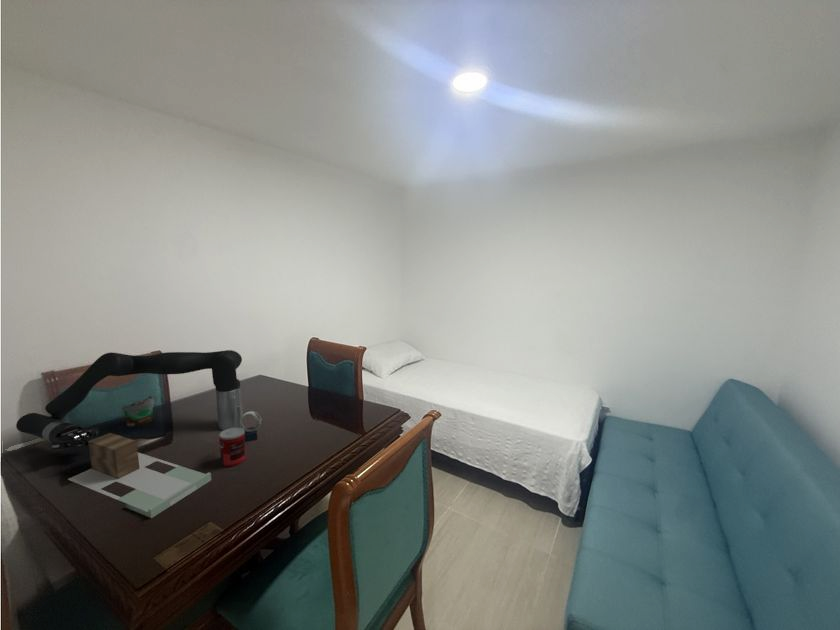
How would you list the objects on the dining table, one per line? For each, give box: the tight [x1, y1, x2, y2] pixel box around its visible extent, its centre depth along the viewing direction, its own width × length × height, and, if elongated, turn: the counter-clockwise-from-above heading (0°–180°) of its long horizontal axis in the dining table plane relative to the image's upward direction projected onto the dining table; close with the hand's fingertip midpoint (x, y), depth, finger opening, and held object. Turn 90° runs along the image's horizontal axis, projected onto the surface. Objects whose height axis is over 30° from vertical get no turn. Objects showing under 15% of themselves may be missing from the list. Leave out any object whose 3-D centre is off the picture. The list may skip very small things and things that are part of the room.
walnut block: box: [88, 432, 140, 479], centre depth 111 cm, size 14×6×10 cm, turn 70°
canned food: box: [218, 427, 247, 467], centre depth 119 cm, size 8×8×11 cm
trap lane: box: [67, 452, 212, 519], centre depth 107 cm, size 40×18×2 cm, turn 70°
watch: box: [240, 410, 262, 443], centre depth 135 cm, size 6×8×11 cm
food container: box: [121, 395, 155, 427], centre depth 146 cm, size 12×6×10 cm, turn 168°
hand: (91, 443), depth 114 cm, fingers closed
